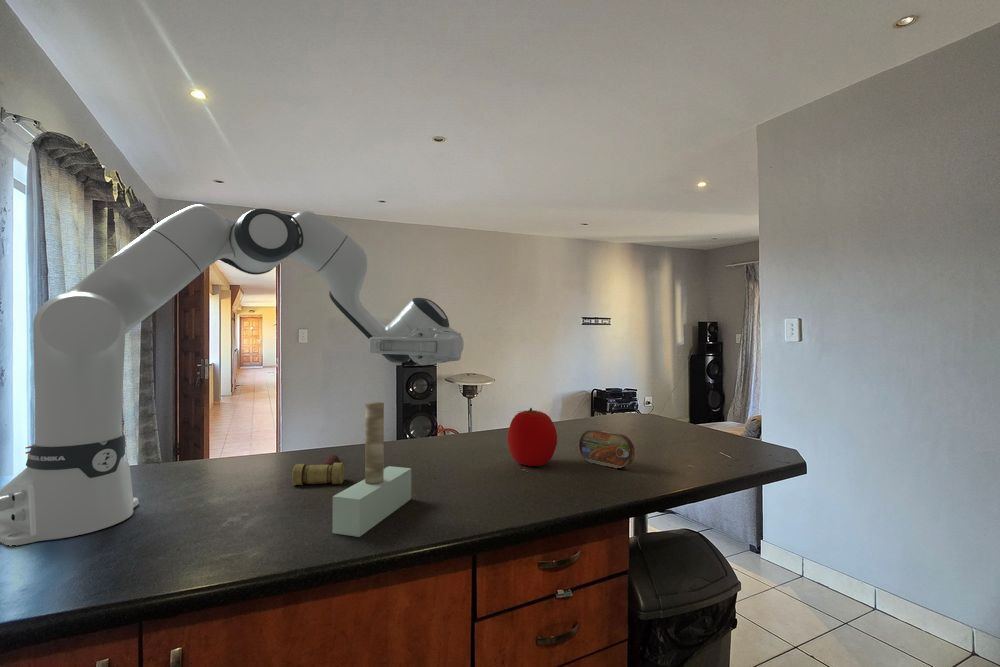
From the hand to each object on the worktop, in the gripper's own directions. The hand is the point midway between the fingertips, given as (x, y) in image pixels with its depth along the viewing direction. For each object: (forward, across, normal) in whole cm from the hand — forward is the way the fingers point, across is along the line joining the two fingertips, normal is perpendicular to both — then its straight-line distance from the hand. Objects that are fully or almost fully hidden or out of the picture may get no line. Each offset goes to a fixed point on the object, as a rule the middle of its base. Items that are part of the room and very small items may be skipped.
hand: (397, 346), depth 95 cm
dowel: (+11, +2, +24) cm, 27 cm away
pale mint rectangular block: (+10, +2, +30) cm, 32 cm away
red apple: (-30, +22, +30) cm, 47 cm away
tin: (-35, +40, +29) cm, 60 cm away
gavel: (-9, -22, +31) cm, 39 cm away
